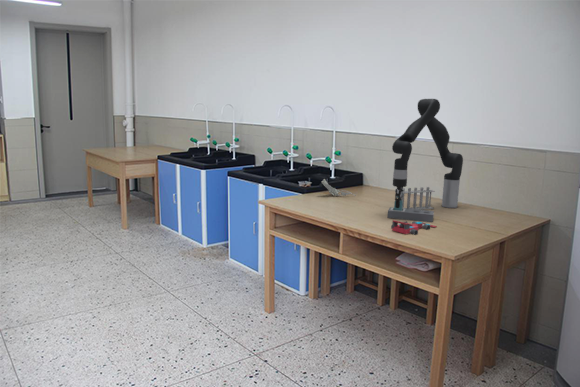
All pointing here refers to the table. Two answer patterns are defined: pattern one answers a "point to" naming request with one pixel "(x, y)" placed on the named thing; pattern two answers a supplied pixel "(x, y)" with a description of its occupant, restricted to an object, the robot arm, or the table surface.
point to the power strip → (411, 214)
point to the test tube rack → (416, 198)
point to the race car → (409, 227)
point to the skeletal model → (333, 190)
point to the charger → (399, 207)
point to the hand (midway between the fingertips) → (398, 206)
